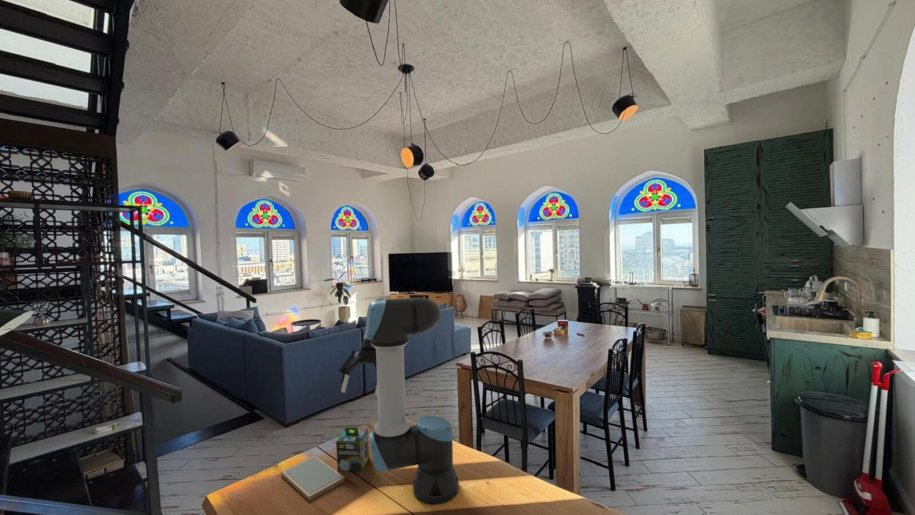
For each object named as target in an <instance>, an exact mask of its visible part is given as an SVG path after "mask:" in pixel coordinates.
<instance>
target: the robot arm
mask: <svg viewBox="0 0 915 515" xmlns="http://www.w3.org/2000/svg"><path fill="white" fill-rule="evenodd" d="M441 317H442V310H441V307H440V305H439V304H438V302H436V301H434V300H432V299H431V298H424V297H408V298H407V297H405V298H403V297H402V298H388V299H385V298H382V297H378V298H375V299H373V301H371V302H370V303H369V304H368V308H367V311H366V320H365V331H364V335H363V340H362V344H361V348H360V351H356V350H355V349H354V350H352V351H351V355H350V356H349V357H348V358H347V359H346V361H345V362H344V364H343V365H342V366H341V368H339V370H338V372H339V373H341V374H342V377H341V380H340V381H341V384H342V385H341V389H340V392H341V393H343V394H345V393H346V390H347V387H348V383H349V378H350V375H349V374H350V373H352V372H353V371H354V370H355V369H357V368H358V366H360V365H362V364H364V365H367V364H368V365H372V364H373V365H374V367H375V369H376V386H375V392H374V396H376V397H377V417H378V418H377V419H378V421H377V422H376V423H375V424H374V426H373V431H371V432H370V433H368V438H369V443H370V444H369V445H370V449H371V455H372V459H373V460H372V461H373V465H374V469H375V470H376V471H377V472H386V471H388V472H391V471H393V470H398V469H403V468H408V467H413V466H417V469H416V473H415V477H414V479H413V481H412V491H413V496H414V497H415V498H416V499H417V500H418V501H420V502H422V503H425V504H428V505H441V504H444V503H448V502H449V501H451V500H452V499H454V498H455V497H456V495H457V494H458V493H459V486H460V485H459V478H458V475H457V473H456V471H455V466H454V463H453V462H454V460H453V458H454V457H453V456H454V450H453V447H454V445H453V440H454V435H453V428H452V425H451V422H449V420H447V419H445V418H443V417H441V416H436V415H425V416H422V417H419V418H418V420H417V421H416V423H415V425H412V424H411V422H410V421H409V420H408V418H406V387H405V384H406V382H405V380H406V379H405V349H404V348H405V346H407V344H408V343H409V336H415V335H422V334H425V333H427V332H430V331H431V330H433V329H434V328H435V327H436V326H437V325H438V324H439V323H440V320H441V319H442V318H441ZM358 356H359V357H358ZM356 358H357V359H356ZM355 359H356V360H355Z"/></svg>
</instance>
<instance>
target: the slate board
mask: <svg viewBox="0 0 915 515" xmlns="http://www.w3.org/2000/svg"><path fill="white" fill-rule="evenodd" d="M280 474H281V477H282V478H283V479H285V480H286V481H287V483H289V484H290V485H291V486H292V487H293V488H294V489H295V490H296V491H298V492H299V494H301V495H302V496H303V497H304V498H305V499H306V498H307V499H306V500H308V502H310V501H312V500H315V498H318V497H319V496H321V495H323V494H324V493H326V492H328V491H330V490H331V489H333V488H335V487H336V486H339V485H341V484H342V483H344V482H345V481H346V480H345V479H346V478H345V476H344V475H343V474H341V473H340V472H339V471H338V470H336V469H334V468H333V467H332V466H330V465H329V464H328V463H326V461H324V460H322V459H321V458H319V457H318V456H317V455H313V456H312V457H310V458H308V459H305V460H303V461H301V462H299V463H297V464H295V465H293V466H291V467H288V468H287V469H284V470H282V471H281V472H280Z"/></svg>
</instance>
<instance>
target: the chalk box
mask: <svg viewBox="0 0 915 515" xmlns="http://www.w3.org/2000/svg"><path fill="white" fill-rule="evenodd" d="M335 442H336V463H337V472H353V473H354V472H357V473H361V472H362V471H363V470H364V468H365V466H366V464H367V462H368V461H369V459H370V446H369V445H370V444H369V443H370V442H369V430H368V428H358V427H355V426H354V427H353V426H352V427H351V426H350V427H348V426H347V427H344V430H343V431H342V433H341V434H340V435H339V437H338V438H337V440H336V441H335Z"/></svg>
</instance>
